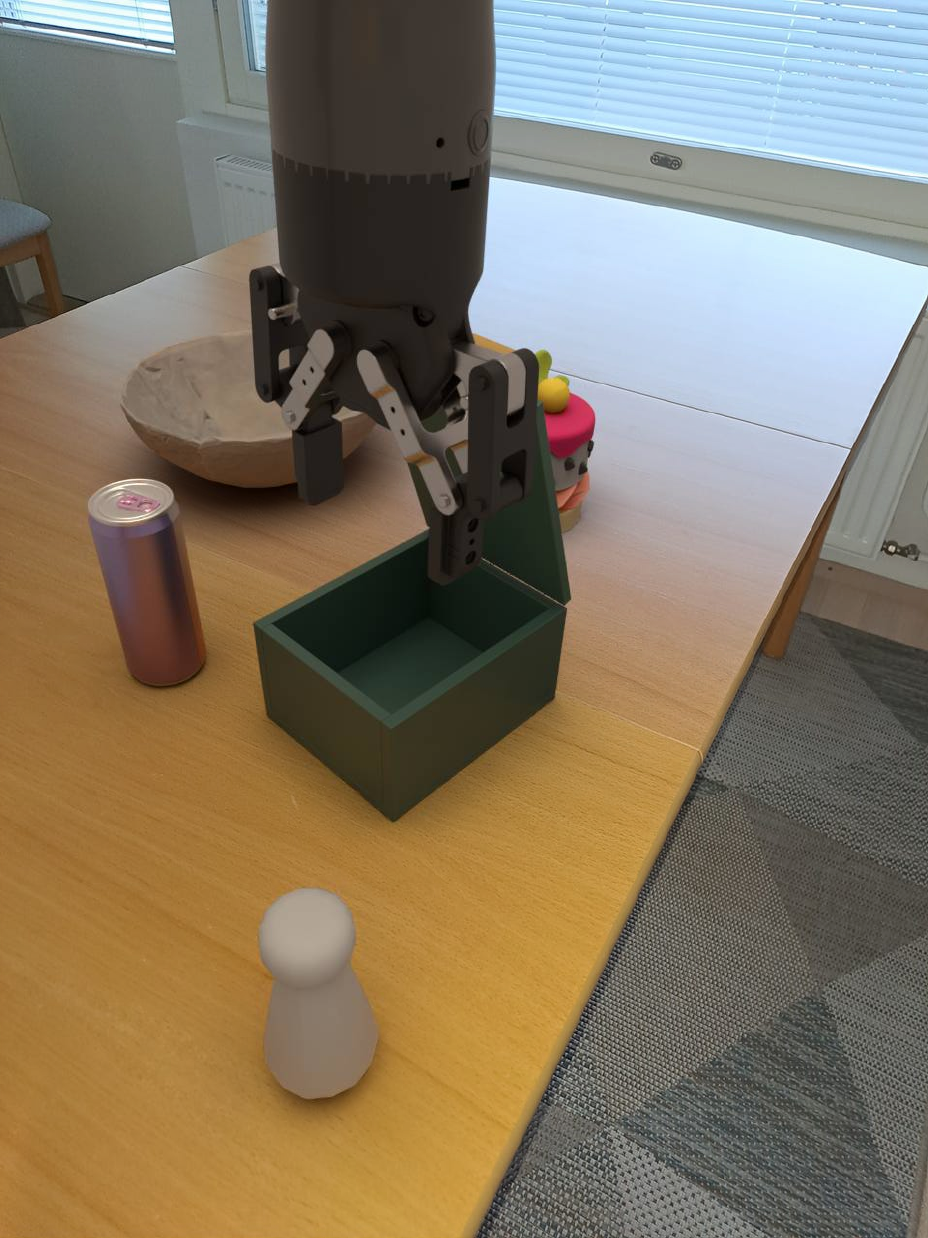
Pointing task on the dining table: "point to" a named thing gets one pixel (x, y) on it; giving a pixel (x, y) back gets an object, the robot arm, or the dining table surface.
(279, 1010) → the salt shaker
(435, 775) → the chest
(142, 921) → the dining table surface
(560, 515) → the cake
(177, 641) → the beverage can
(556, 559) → the lid
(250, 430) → the bowl
